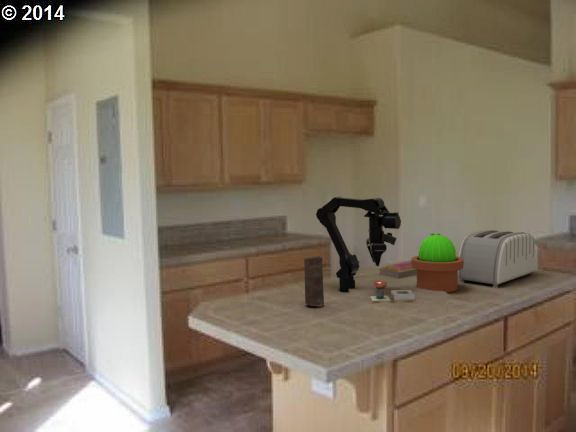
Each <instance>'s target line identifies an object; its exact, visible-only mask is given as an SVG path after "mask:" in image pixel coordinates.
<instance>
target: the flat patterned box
mask: <svg viewBox="0 0 576 432" xmlns="http://www.w3.org/2000/svg"><path fill="white" fill-rule="evenodd" d="M376 269H377V270H379V276H384V277H389V278H395V279H403V278H408V277H412V276H417V269H414V268H412V266H411V261H406V262H405V261H404V262H398V263H395V264H391V265H387V266H383V267H377V268H376Z"/></svg>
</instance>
